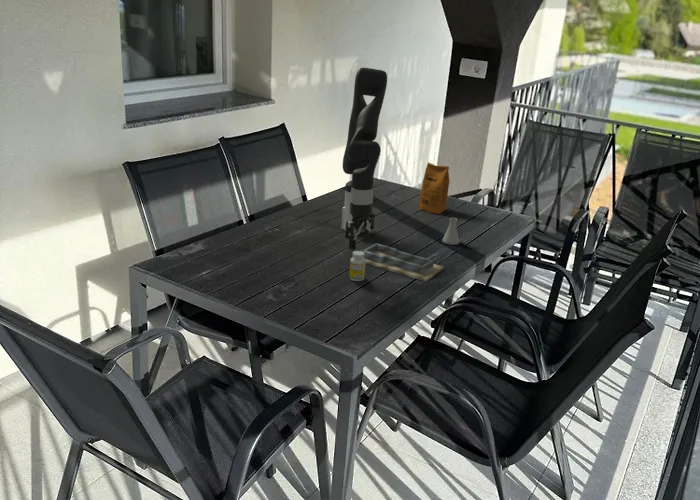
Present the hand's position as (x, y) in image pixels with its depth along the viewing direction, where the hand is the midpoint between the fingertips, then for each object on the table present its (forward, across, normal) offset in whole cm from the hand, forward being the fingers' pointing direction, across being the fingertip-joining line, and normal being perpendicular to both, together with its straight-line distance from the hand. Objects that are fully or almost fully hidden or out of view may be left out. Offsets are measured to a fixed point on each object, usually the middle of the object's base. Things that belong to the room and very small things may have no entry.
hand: (359, 246), depth 214 cm
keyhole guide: (+12, -20, +5) cm, 24 cm away
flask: (+12, -54, +10) cm, 56 cm away
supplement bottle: (+12, 0, 0) cm, 12 cm away
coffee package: (+12, -86, -15) cm, 88 cm away
